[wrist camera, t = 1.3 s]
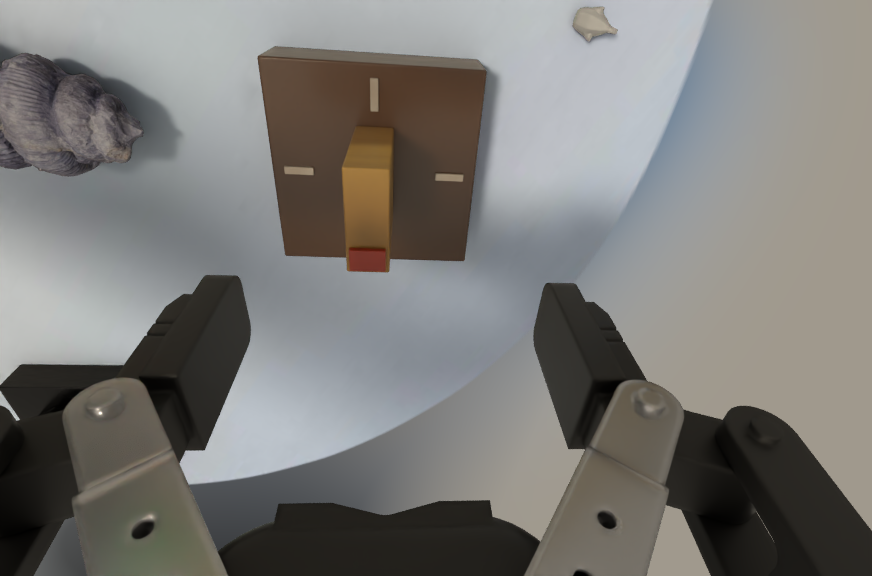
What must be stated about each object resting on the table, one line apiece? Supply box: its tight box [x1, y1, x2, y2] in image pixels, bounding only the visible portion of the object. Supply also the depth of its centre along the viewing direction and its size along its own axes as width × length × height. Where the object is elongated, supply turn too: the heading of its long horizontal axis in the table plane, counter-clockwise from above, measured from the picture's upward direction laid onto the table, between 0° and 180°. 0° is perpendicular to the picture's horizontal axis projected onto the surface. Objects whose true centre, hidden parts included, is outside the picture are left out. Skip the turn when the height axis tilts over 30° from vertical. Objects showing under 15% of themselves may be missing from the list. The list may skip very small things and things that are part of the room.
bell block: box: [0, 365, 123, 420], centre depth 34 cm, size 10×8×4 cm
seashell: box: [0, 53, 144, 177], centre depth 21 cm, size 5×5×10 cm
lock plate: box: [258, 46, 487, 261], centre depth 24 cm, size 10×10×3 cm
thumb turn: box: [342, 126, 394, 272], centre depth 20 cm, size 5×2×6 cm, turn 176°
